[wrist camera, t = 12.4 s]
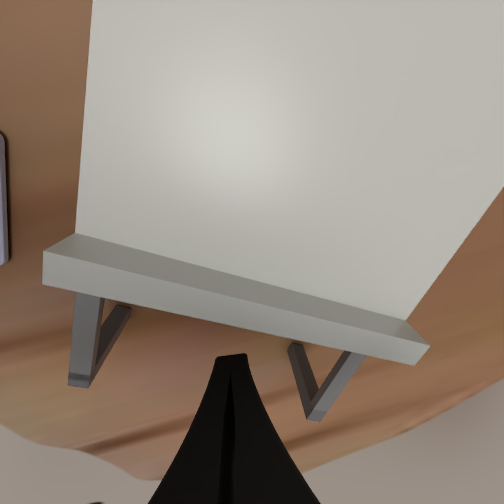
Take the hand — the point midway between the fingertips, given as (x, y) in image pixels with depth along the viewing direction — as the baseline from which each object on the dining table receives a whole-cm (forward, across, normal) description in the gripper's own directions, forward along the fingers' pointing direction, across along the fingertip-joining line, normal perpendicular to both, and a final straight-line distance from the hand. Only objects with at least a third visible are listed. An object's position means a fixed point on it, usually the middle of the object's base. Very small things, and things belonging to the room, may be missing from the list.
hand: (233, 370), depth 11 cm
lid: (+1, -4, -9) cm, 10 cm away
